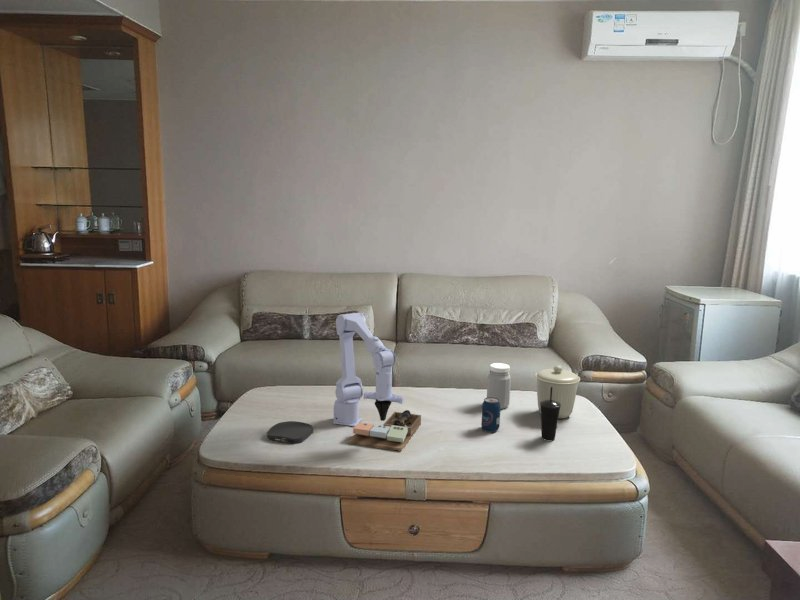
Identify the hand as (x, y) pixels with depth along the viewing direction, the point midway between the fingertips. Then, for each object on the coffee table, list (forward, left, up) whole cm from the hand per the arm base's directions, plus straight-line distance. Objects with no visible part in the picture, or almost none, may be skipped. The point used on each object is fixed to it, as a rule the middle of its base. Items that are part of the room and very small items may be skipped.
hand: (383, 419), depth 216 cm
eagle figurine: (+2, +17, -10) cm, 19 cm away
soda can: (+35, +27, -9) cm, 45 cm away
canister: (+58, +52, -10) cm, 78 cm away
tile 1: (-8, +2, -5) cm, 10 cm away
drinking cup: (+57, +26, -9) cm, 63 cm away
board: (-2, +9, -9) cm, 13 cm away
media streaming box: (-35, -4, -10) cm, 37 cm away
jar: (+34, +54, -10) cm, 64 cm away
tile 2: (-2, +2, -5) cm, 6 cm away
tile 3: (+5, +2, -5) cm, 8 cm away
